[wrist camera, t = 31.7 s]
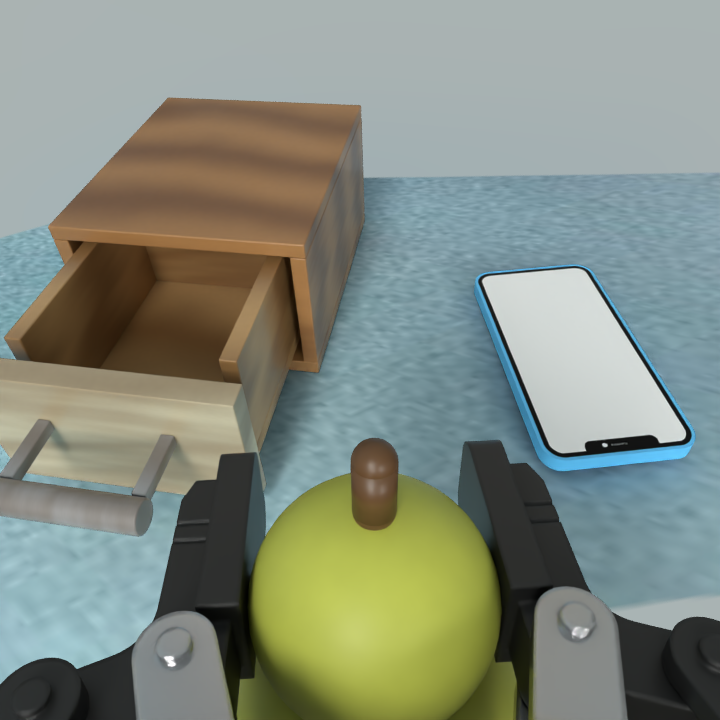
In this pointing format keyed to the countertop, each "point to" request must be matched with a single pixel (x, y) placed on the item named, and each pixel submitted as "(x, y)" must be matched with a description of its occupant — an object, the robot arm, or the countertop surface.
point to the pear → (375, 605)
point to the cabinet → (238, 195)
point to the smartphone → (579, 371)
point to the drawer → (141, 378)
